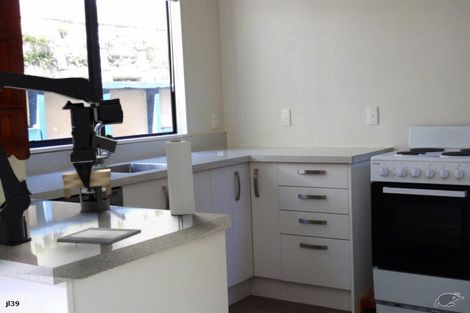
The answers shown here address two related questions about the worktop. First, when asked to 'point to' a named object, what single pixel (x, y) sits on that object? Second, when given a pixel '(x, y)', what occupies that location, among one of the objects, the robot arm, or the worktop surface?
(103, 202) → the french press
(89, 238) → the charcoal mat
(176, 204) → the paper towel roll
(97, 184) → the oak stool
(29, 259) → the worktop surface
